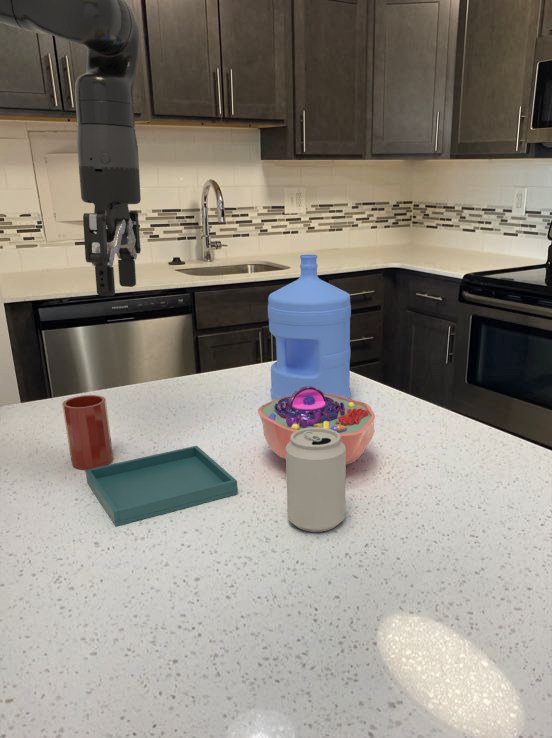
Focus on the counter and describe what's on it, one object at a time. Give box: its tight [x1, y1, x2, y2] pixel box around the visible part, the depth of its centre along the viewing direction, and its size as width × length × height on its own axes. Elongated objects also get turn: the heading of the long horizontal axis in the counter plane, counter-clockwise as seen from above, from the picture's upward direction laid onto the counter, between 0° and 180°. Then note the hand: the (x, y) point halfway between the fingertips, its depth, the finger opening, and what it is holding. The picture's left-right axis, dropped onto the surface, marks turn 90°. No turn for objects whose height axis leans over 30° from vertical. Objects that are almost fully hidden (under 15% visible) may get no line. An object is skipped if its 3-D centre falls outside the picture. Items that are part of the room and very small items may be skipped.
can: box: [285, 427, 347, 533], centre depth 84 cm, size 8×8×12 cm
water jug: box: [267, 254, 352, 401], centre depth 126 cm, size 16×16×28 cm
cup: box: [61, 394, 114, 471], centre depth 103 cm, size 6×6×10 cm
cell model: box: [257, 386, 376, 466], centre depth 102 cm, size 17×20×11 cm
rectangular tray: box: [84, 445, 239, 527], centre depth 95 cm, size 17×15×2 cm
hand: (117, 290), depth 92 cm, fingers open, 8 cm apart
